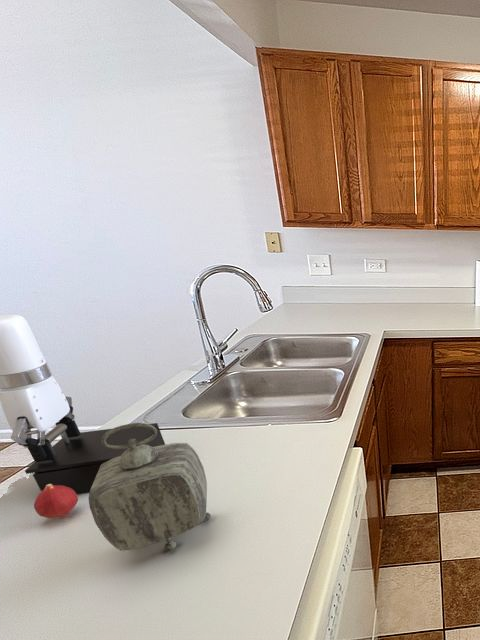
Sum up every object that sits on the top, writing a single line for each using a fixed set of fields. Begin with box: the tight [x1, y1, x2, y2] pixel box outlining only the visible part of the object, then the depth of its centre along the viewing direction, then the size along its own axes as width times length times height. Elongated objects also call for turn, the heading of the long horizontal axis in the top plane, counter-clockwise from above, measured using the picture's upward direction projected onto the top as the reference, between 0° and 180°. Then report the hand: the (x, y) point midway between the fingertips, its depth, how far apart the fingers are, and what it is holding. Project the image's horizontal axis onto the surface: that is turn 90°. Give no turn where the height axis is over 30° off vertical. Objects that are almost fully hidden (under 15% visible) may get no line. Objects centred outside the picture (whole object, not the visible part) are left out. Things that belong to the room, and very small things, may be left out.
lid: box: [24, 422, 159, 475], centre depth 88 cm, size 18×14×6 cm
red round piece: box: [33, 484, 79, 519], centre depth 77 cm, size 6×6×8 cm
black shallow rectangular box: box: [32, 425, 166, 495], centre depth 90 cm, size 17×14×6 cm
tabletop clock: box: [88, 422, 211, 552], centre depth 68 cm, size 14×9×25 cm, turn 122°
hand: (59, 447), depth 87 cm, fingers open, 8 cm apart
